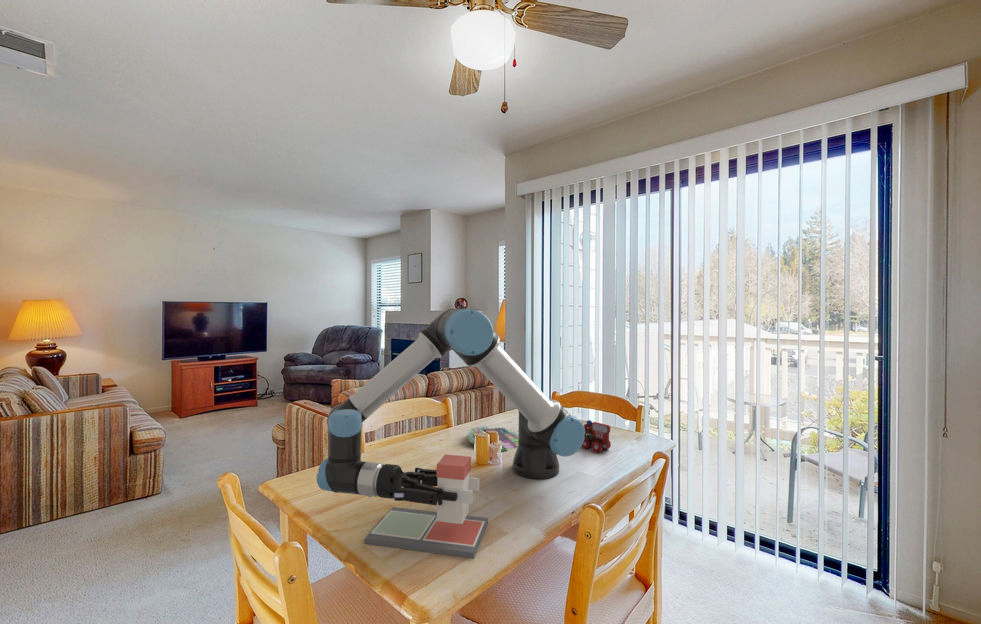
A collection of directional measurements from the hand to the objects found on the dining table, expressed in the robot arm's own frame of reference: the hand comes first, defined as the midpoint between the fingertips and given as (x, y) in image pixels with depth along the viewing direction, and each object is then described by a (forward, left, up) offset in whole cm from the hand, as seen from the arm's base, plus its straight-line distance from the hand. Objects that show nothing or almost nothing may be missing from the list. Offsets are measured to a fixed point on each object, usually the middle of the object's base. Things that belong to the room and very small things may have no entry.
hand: (475, 490), depth 97 cm
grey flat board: (+11, 0, -11) cm, 16 cm away
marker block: (+5, 0, -6) cm, 8 cm away
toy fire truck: (-30, -70, -11) cm, 77 cm away
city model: (+8, -68, -12) cm, 70 cm away
